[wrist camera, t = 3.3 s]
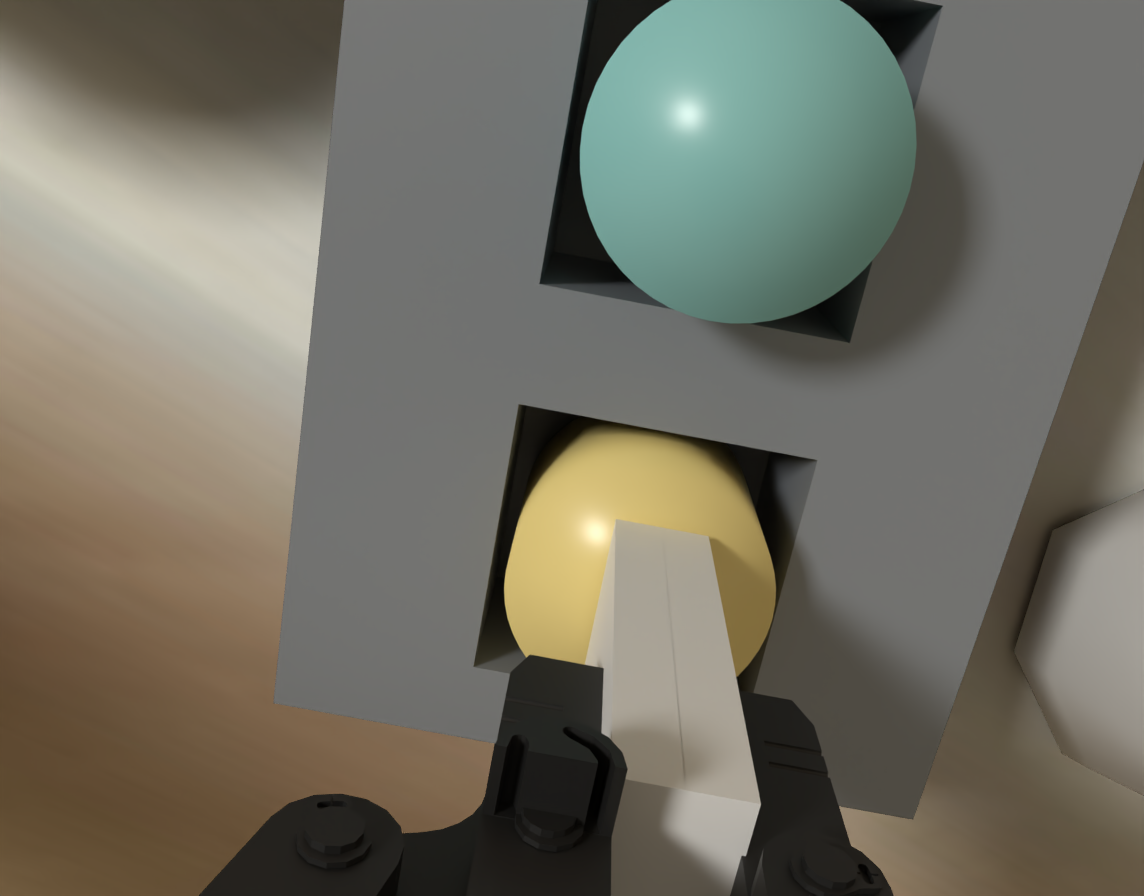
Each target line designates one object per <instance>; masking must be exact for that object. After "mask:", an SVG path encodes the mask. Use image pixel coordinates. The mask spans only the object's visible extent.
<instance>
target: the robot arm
mask: <svg viewBox="0 0 1144 896" xmlns="http://www.w3.org/2000/svg"><path fill="white" fill-rule="evenodd" d="M821 753H822V750H821V746H820V743H819V740H818V737H817V733H816V730H815V727H814V725H813V724H812V722H811V721H810V720H809V719H808V718H807V717H806V716H805V715H804V713H803V712H802V711H801V710H800V709H799V708H798V707H797V705H796V704H795V703H794V702H793V701H792V700H788V699H783V698H778V697H772V696H767V695H761V694H756V693H751V692H745V691H740V690H739V689H738V684H737V679H736V674H735V669H734V664H733V659H732V653H731V648H730V643H729V638H728V633H727V628H726V623H725V618H724V613H723V607H722V602H721V597H720V592H719V587H718V582H717V577H716V572H715V567H714V561H713V556H712V551H711V546H710V541H709V536H705V535H699V534H694V533H689V532H683V531H678V530H673V529H667V528H662V527H657V526H651V525H646V524H640V523H635V522H630V521H624V520H619V519H616V520H615V525H614V529H613V534H612V539H611V543H610V548H609V553H608V558H607V562H606V567H605V572H604V576H603V581H602V586H601V591H600V595H599V600H598V605H597V609H596V614H595V619H594V623H593V628H592V633H591V638H590V642H589V647H588V652H587V656H586V661H585V665H584V664H579V663H573V662H568V661H562V660H557V659H552V658H546V657H541V656H535V655H529V656H528V657H527V658H525V659H524V660H523V661H522V662H521V663H520V664H519V665H518V666H517V667H516V668H514V669H513V670H512V671H511V672H510V676H509V682H508V687H507V692H506V697H505V702H504V707H503V712H502V717H501V722H500V727H499V732H498V737H497V741H496V743H495V745H494V751H493V756H492V761H491V767H490V772H489V778H488V783H487V788H486V794H485V797H484V800H483V802H482V804H481V805H480V807H479V808H478V809H477V810H476V811H475V812H474V813H473V815H471V816H469V817H468V818H466V819H465V820H463V821H462V822H460V823H458V824H456V825H453V826H450V827H447V828H444V829H441V830H435V831H428V832H420V833H404V834H402V831H401V827H400V825H399V824H398V823H397V822H396V821H395V819H394V818H393V817H392V816H391V815H390V814H389V812H388V811H387V810H385V809H383V808H381V807H380V806H378V805H376V804H374V803H372V802H370V801H369V800H367V799H363V798H358V797H354V796H349V795H344V794H326V795H313V796H310V797H307V798H304V799H301V800H298V801H294V802H291V803H289V804H288V805H286V806H285V807H284V808H282V809H281V810H280V811H278V812H277V813H275V814H274V815H273V816H271V817H270V818H269V820H268V821H267V822H266V823H265V824H264V825H263V826H262V827H261V828H260V829H259V830H258V832H257V833H256V834H255V835H254V836H253V837H252V838H251V839H250V840H249V841H248V842H247V844H246V845H245V846H244V847H243V848H242V849H241V850H240V851H239V852H238V853H237V854H236V856H235V857H234V858H233V859H232V860H231V861H230V862H229V863H228V864H227V865H226V866H225V868H224V869H223V870H222V871H221V872H220V873H219V874H218V875H217V876H216V877H215V878H214V880H213V881H212V882H211V883H210V884H209V885H208V886H207V887H206V888H205V889H204V890H203V892H202V893H201V894H200V895H199V896H893V893H892V890H891V887H890V886H889V884H888V882H887V880H886V879H885V877H884V875H883V873H882V872H881V870H880V869H879V868H878V867H877V866H876V865H875V864H874V863H873V862H872V861H871V860H870V859H869V858H868V857H866V856H865V855H864V854H863V853H862V852H861V851H859V850H857V849H855V848H854V847H852V846H851V845H850V842H849V838H848V835H847V832H846V828H845V825H844V822H843V819H842V815H841V812H840V809H839V805H838V802H837V799H836V796H835V792H834V789H833V786H832V783H831V779H830V778H828V769H827V766H826V763H825V760H824V756H821Z"/></svg>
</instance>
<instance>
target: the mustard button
mask: <svg viewBox="0 0 1144 896" xmlns="http://www.w3.org/2000/svg"><path fill="white" fill-rule="evenodd" d="M616 519H619V520H624V521H630V522H635V523H640V524H646V525H651V526H657V527H662V528H667V529H673V530H678V531H683V532H689V533H694V534H699V535H705V536H709V541H710V546H711V551H712V556H713V561H714V567H715V572H716V577H717V582H718V587H719V592H720V597H721V602H722V607H723V613H724V618H725V623H726V628H727V633H728V638H729V643H730V648H731V653H732V659H733V664H734V669H735V674H736V677H737V676H738V675H739V674H740V673H741V672H742V671H743V670H744V669H745V668H746V667H747V666H748V665H749V664H750V662H751V661H752V659H753V658H754V657H755V655H756V654H757V652H758V651H759V649H760V647H761V645H762V644H763V642H764V640H765V638H766V636H767V633H768V630H769V628H770V625H771V622H772V618H773V613H774V608H775V598H776V583H775V573H774V569H773V564H772V560H771V556H770V553H769V550H768V547H767V544H766V541H765V538H764V535H763V532H762V529H761V526H760V523H759V520H758V517H757V514H756V511H755V508H754V505H753V501H752V498H751V495H750V492H749V489H748V486H747V483H746V480H745V477H744V474H743V472H742V470H741V467H740V465H739V462H738V461H737V459H736V457H735V456H734V454H733V452H732V451H731V449H730V448H729V447H728V445H727V444H726V443H724V442H719V441H713V440H708V439H703V438H697V437H692V436H687V435H681V434H676V433H671V432H665V431H660V430H655V429H649V428H644V427H639V426H633V425H628V424H623V423H617V422H612V421H607V420H601V419H596V418H591V417H585V416H580V417H579V418H577V419H575V420H573V421H572V422H570V423H569V424H568V425H566V426H565V427H564V428H562V429H561V430H560V431H559V432H558V433H557V434H556V435H555V436H554V437H553V438H552V439H551V440H550V441H549V442H548V443H547V445H546V446H545V447H544V448H543V450H542V451H541V453H540V454H539V456H538V458H537V459H536V461H535V463H534V465H533V468H532V470H531V473H530V475H529V478H528V482H527V486H526V490H525V494H524V498H523V502H522V506H521V511H520V515H519V519H518V523H517V527H516V531H515V535H514V539H513V543H512V548H511V552H510V556H509V560H508V564H507V568H506V574H505V583H504V597H505V607H506V612H507V618H508V621H509V624H510V627H511V630H512V633H513V635H514V637H515V639H516V641H517V643H518V645H519V647H520V649H521V650H522V652H523V653H524V655H525V656H526V658H527V657H528V656H529V655H535V656H541V657H546V658H552V659H557V660H562V661H568V662H573V663H579V664H584V665H585V661H586V656H587V652H588V647H589V642H590V638H591V633H592V628H593V623H594V619H595V614H596V609H597V605H598V600H599V595H600V591H601V586H602V581H603V576H604V572H605V567H606V562H607V558H608V553H609V548H610V543H611V539H612V534H613V529H614V525H615V520H616Z"/></svg>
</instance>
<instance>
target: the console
mask: <svg viewBox="0 0 1144 896" xmlns="http://www.w3.org/2000/svg"><path fill="white" fill-rule="evenodd" d="M669 1H671V0H344V9H343V19H342V29H341V39H340V49H339V59H338V69H337V79H336V89H335V99H334V108H333V118H332V128H331V138H330V148H329V158H328V168H327V178H326V188H325V198H324V207H323V217H322V227H321V237H320V247H319V257H318V267H317V277H316V287H315V297H314V306H313V316H312V326H311V336H310V346H309V356H308V366H307V376H306V386H305V396H304V406H303V415H302V425H301V435H300V445H299V455H298V465H297V475H296V485H295V495H294V505H293V514H292V524H291V534H290V544H289V554H288V564H287V574H286V584H285V594H284V604H283V613H282V623H281V633H280V643H279V653H278V663H277V673H276V683H275V693H274V703H276V704H281V705H286V706H292V707H297V708H303V709H308V710H314V711H319V712H325V713H330V714H336V715H341V716H347V717H352V718H358V719H363V720H369V721H374V722H380V723H385V724H391V725H396V726H402V727H407V728H413V729H418V730H424V731H429V732H435V733H440V734H446V735H451V736H457V737H462V738H468V739H473V740H479V741H484V742H490V743H496V741H497V737H498V732H499V727H500V722H501V717H502V712H503V707H504V702H505V697H506V692H507V687H508V682H509V676H510V672H511V671H512V670H513V669H514V668H516V667H517V666H518V665H519V664H520V663H521V662H522V661H523V660H524V659H525V658H526V656H525V655H524V653H523V652H522V650H521V649H520V647H519V645H518V643H517V641H516V639H515V637H514V635H513V633H512V630H511V627H510V624H509V621H508V618H507V612H506V607H505V597H504V583H505V574H506V568H507V564H508V560H509V556H510V552H511V548H512V543H513V539H514V535H515V531H516V527H517V523H518V519H519V515H520V511H521V506H522V502H523V498H524V494H525V490H526V486H527V482H528V478H529V475H530V473H531V470H532V468H533V465H534V463H535V461H536V459H537V458H538V456H539V454H540V453H541V451H542V450H543V448H544V447H545V446H546V445H547V443H548V442H549V441H550V440H551V439H552V438H553V437H554V436H555V435H556V434H557V433H558V432H559V431H560V430H561V429H562V428H564V427H565V426H566V425H568V424H569V423H570V422H572V421H573V420H575V419H577V418H579V417H580V416H585V417H591V418H596V419H601V420H607V421H612V422H617V423H623V424H628V425H633V426H639V427H644V428H649V429H655V430H660V431H665V432H671V433H676V434H681V435H687V436H692V437H697V438H703V439H708V440H713V441H719V442H724V443H726V444H727V445H728V447H729V448H730V449H731V451H732V452H733V454H734V456H735V457H736V459H737V461H738V462H739V465H740V467H741V470H742V472H743V474H744V477H745V480H746V483H747V486H748V489H749V492H750V495H751V498H752V501H753V505H754V508H755V511H756V514H757V517H758V520H759V523H760V526H761V529H762V532H763V535H764V538H765V541H766V544H767V547H768V550H769V553H770V556H771V560H772V564H773V569H774V573H775V583H776V598H775V608H774V613H773V618H772V622H771V625H770V628H769V630H768V633H767V636H766V638H765V640H764V642H763V644H762V645H761V647H760V649H759V651H758V652H757V654H756V655H755V657H754V658H753V659H752V661H751V662H750V664H749V665H748V666H747V667H746V668H745V669H744V670H743V671H742V672H741V673H740V674H739V675H738V676H737V677H736V679H737V684H738V689H739V690H740V691H745V692H751V693H756V694H761V695H767V696H772V697H778V698H783V699H788V700H792V701H793V702H794V703H795V704H796V705H797V707H798V708H799V709H800V710H801V711H802V712H803V713H804V715H805V716H806V717H807V718H808V719H809V720H810V721H811V722H812V724H813V725H814V727H815V730H816V733H817V737H818V740H819V743H820V746H821V750H822V753H821V756H824V760H825V763H826V766H827V769H828V778H830V779H831V783H832V786H833V789H834V792H835V796H836V799H837V802H838V805H839V806H841V807H847V808H852V809H858V810H863V811H869V812H874V813H880V814H885V815H891V816H896V817H902V818H907V819H913V818H914V815H915V813H916V810H917V807H918V804H919V801H920V798H921V795H922V793H923V790H924V787H925V784H926V781H927V778H928V775H929V773H930V770H931V767H932V764H933V761H934V758H935V755H936V753H937V750H938V747H939V744H940V741H941V738H942V735H943V733H944V730H945V727H946V724H947V721H948V718H949V715H950V713H951V710H952V707H953V704H954V701H955V698H956V695H957V693H958V690H959V687H960V684H961V681H962V678H963V675H964V673H965V670H966V667H967V664H968V661H969V658H970V656H971V653H972V650H973V647H974V644H975V641H976V638H977V636H978V633H979V630H980V627H981V624H982V621H983V618H984V616H985V613H986V610H987V607H988V604H989V601H990V598H991V596H992V593H993V590H994V587H995V584H996V581H997V578H998V576H999V573H1000V570H1001V567H1002V564H1003V561H1004V558H1005V556H1006V553H1007V550H1008V547H1009V544H1010V541H1011V538H1012V536H1013V533H1014V530H1015V527H1016V524H1017V521H1018V519H1019V516H1020V513H1021V510H1022V507H1023V504H1024V501H1025V499H1026V496H1027V493H1028V490H1029V487H1030V484H1031V481H1032V479H1033V476H1034V473H1035V470H1036V467H1037V464H1038V461H1039V459H1040V456H1041V453H1042V450H1043V447H1044V444H1045V441H1046V439H1047V436H1048V433H1049V430H1050V427H1051V424H1052V421H1053V419H1054V416H1055V413H1056V410H1057V407H1058V404H1059V401H1060V399H1061V396H1062V393H1063V390H1064V387H1065V384H1066V381H1067V379H1068V376H1069V373H1070V370H1071V367H1072V364H1073V362H1074V359H1075V356H1076V353H1077V350H1078V347H1079V344H1080V342H1081V339H1082V336H1083V333H1084V330H1085V327H1086V324H1087V322H1088V319H1089V316H1090V313H1091V310H1092V307H1093V304H1094V302H1095V299H1096V296H1097V293H1098V290H1099V287H1100V284H1101V282H1102V279H1103V276H1104V273H1105V270H1106V267H1107V264H1108V262H1109V259H1110V256H1111V253H1112V250H1113V247H1114V244H1115V242H1116V239H1117V236H1118V233H1119V230H1120V227H1121V225H1122V222H1123V219H1124V216H1125V213H1126V210H1127V207H1128V205H1129V202H1130V199H1131V196H1132V193H1133V190H1134V187H1135V185H1136V182H1137V179H1138V176H1139V173H1140V170H1141V167H1142V165H1143V162H1144V0H840V1H842V2H843V3H845V4H847V5H848V6H850V7H851V8H852V9H853V10H855V11H856V12H857V13H858V14H859V15H860V16H862V17H863V18H864V19H865V20H866V21H868V23H869V24H870V25H871V26H872V27H873V28H874V29H875V30H876V32H877V33H878V34H879V35H880V36H881V37H882V38H883V40H884V41H885V43H886V44H887V46H888V48H889V49H890V51H891V52H892V54H893V55H894V57H895V58H896V61H897V63H898V65H899V67H900V69H901V71H902V73H903V75H904V77H905V80H906V83H907V87H908V90H909V93H910V96H911V99H912V104H913V110H914V116H915V122H916V143H917V146H916V158H915V169H914V173H913V178H912V183H911V187H910V191H909V194H908V197H907V200H906V203H905V206H904V208H903V211H902V214H901V216H900V218H899V220H898V222H897V224H896V226H895V228H894V230H893V232H892V233H891V235H890V237H889V238H888V240H887V241H886V243H885V244H884V246H883V247H882V249H881V250H880V252H879V253H878V254H877V255H876V256H875V258H874V259H873V260H872V261H871V262H870V264H869V265H868V266H867V267H866V268H865V269H864V270H863V271H862V272H861V273H860V274H859V275H858V276H857V277H856V278H855V279H854V280H852V281H851V282H850V283H849V284H848V285H846V286H845V287H844V288H842V289H841V290H840V291H838V292H837V293H835V294H834V295H833V296H831V297H830V298H828V299H826V300H824V301H822V302H821V303H819V304H817V305H815V306H813V307H811V308H809V309H806V310H804V311H801V312H799V313H796V314H794V315H791V316H787V317H783V318H780V319H776V320H772V321H765V322H757V323H722V322H714V321H708V320H704V319H700V318H696V317H692V316H689V315H686V314H684V313H681V312H679V311H676V310H674V309H671V308H669V307H668V306H666V305H664V304H662V303H660V302H659V301H657V300H655V299H653V298H652V297H651V296H649V295H648V294H647V293H645V292H644V291H643V290H641V289H640V288H639V287H637V286H636V285H635V284H634V283H633V282H632V281H631V280H630V279H629V278H628V277H627V276H626V275H625V274H624V273H623V272H622V271H621V270H620V269H619V267H618V266H617V265H616V264H615V262H614V261H613V260H612V258H611V257H610V256H609V255H608V253H607V251H606V250H605V248H604V246H603V244H602V243H601V241H600V239H599V237H598V236H597V233H596V231H595V229H594V226H593V224H592V222H591V219H590V217H589V214H588V210H587V206H586V203H585V199H584V195H583V189H582V182H581V175H580V145H581V136H582V127H583V123H584V119H585V115H586V111H587V107H588V104H589V101H590V98H591V96H592V93H593V90H594V88H595V85H596V83H597V81H598V79H599V77H600V75H601V73H602V72H603V70H604V68H605V66H606V64H607V62H608V61H609V59H610V58H611V57H612V55H613V54H614V52H615V51H616V50H617V48H618V47H619V45H620V44H621V43H622V42H623V41H624V39H625V38H626V37H627V36H628V35H629V34H630V33H631V32H632V31H633V30H634V28H635V27H636V26H637V25H639V24H640V23H641V22H642V21H643V20H645V19H646V18H647V17H648V16H649V15H650V14H652V13H653V12H654V11H655V10H657V9H658V8H660V7H662V6H663V5H665V4H666V3H668V2H669Z"/></svg>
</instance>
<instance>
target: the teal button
mask: <svg viewBox="0 0 1144 896" xmlns="http://www.w3.org/2000/svg"><path fill="white" fill-rule="evenodd" d="M916 146H917V143H916V122H915V116H914V110H913V104H912V99H911V96H910V93H909V90H908V87H907V83H906V80H905V77H904V75H903V73H902V71H901V69H900V67H899V65H898V63H897V61H896V58H895V57H894V55H893V54H892V52H891V51H890V49H889V48H888V46H887V44H886V43H885V41H884V40H883V38H882V37H881V36H880V35H879V34H878V33H877V32H876V30H875V29H874V28H873V27H872V26H871V25H870V24H869V23H868V21H866V20H865V19H864V18H863V17H862V16H860V15H859V14H858V13H857V12H856V11H855V10H853V9H852V8H851V7H850V6H848V5H847V4H845V3H843V2H842V1H840V0H671V1H669V2H668V3H666V4H665V5H663V6H662V7H660V8H658V9H657V10H655V11H654V12H653V13H652V14H650V15H649V16H648V17H647V18H646V19H645V20H643V21H642V22H641V23H640V24H639V25H637V26H636V27H635V28H634V30H633V31H632V32H631V33H630V34H629V35H628V36H627V37H626V38H625V39H624V41H623V42H622V43H621V44H620V45H619V47H618V48H617V50H616V51H615V52H614V54H613V55H612V57H611V58H610V59H609V61H608V62H607V64H606V66H605V68H604V70H603V72H602V73H601V75H600V77H599V79H598V81H597V83H596V85H595V88H594V90H593V93H592V96H591V98H590V101H589V104H588V107H587V111H586V115H585V119H584V123H583V127H582V136H581V145H580V175H581V182H582V189H583V195H584V199H585V203H586V206H587V210H588V214H589V217H590V219H591V222H592V224H593V226H594V229H595V231H596V233H597V236H598V237H599V239H600V241H601V243H602V244H603V246H604V248H605V250H606V251H607V253H608V255H609V256H610V257H611V258H612V260H613V261H614V262H615V264H616V265H617V266H618V267H619V269H620V270H621V271H622V272H623V273H624V274H625V275H626V276H627V277H628V278H629V279H630V280H631V281H632V282H633V283H634V284H635V285H636V286H637V287H639V288H640V289H641V290H643V291H644V292H645V293H647V294H648V295H649V296H651V297H652V298H653V299H655V300H657V301H659V302H660V303H662V304H664V305H666V306H668V307H669V308H671V309H674V310H676V311H679V312H681V313H684V314H686V315H689V316H692V317H696V318H700V319H704V320H708V321H714V322H722V323H757V322H765V321H772V320H776V319H780V318H783V317H787V316H791V315H794V314H796V313H799V312H801V311H804V310H806V309H809V308H811V307H813V306H815V305H817V304H819V303H821V302H822V301H824V300H826V299H828V298H830V297H831V296H833V295H834V294H835V293H837V292H838V291H840V290H841V289H842V288H844V287H845V286H846V285H848V284H849V283H850V282H851V281H852V280H854V279H855V278H856V277H857V276H858V275H859V274H860V273H861V272H862V271H863V270H864V269H865V268H866V267H867V266H868V265H869V264H870V262H871V261H872V260H873V259H874V258H875V256H876V255H877V254H878V253H879V252H880V250H881V249H882V247H883V246H884V244H885V243H886V241H887V240H888V238H889V237H890V235H891V233H892V232H893V230H894V228H895V226H896V224H897V222H898V220H899V218H900V216H901V214H902V211H903V208H904V206H905V203H906V200H907V197H908V194H909V191H910V187H911V183H912V178H913V173H914V169H915V158H916Z"/></svg>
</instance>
